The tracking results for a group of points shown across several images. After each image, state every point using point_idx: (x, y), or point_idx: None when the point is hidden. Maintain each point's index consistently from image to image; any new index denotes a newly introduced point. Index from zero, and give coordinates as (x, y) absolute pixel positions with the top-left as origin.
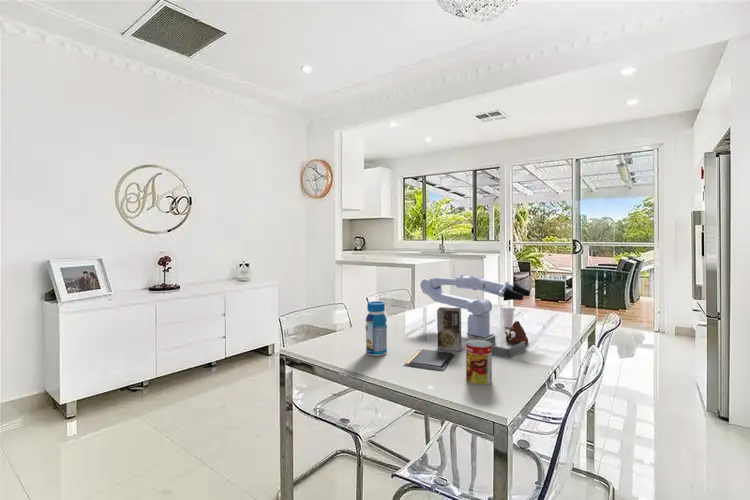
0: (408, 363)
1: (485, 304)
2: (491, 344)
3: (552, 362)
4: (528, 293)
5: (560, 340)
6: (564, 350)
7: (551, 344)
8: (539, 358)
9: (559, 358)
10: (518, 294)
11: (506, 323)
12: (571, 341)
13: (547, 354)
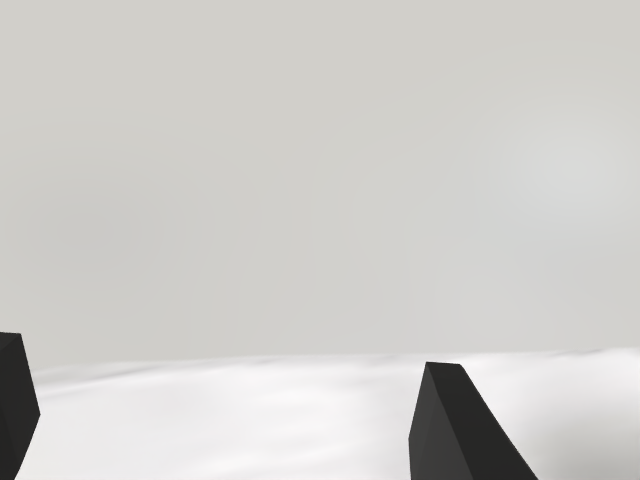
0: None
1: None
2: None
3: (621, 363)
4: (20, 386)
5: (73, 443)
6: (329, 367)
7: (227, 467)
8: (625, 438)
9: (515, 353)
10: (497, 448)
11: None
12: (74, 380)
13: None
